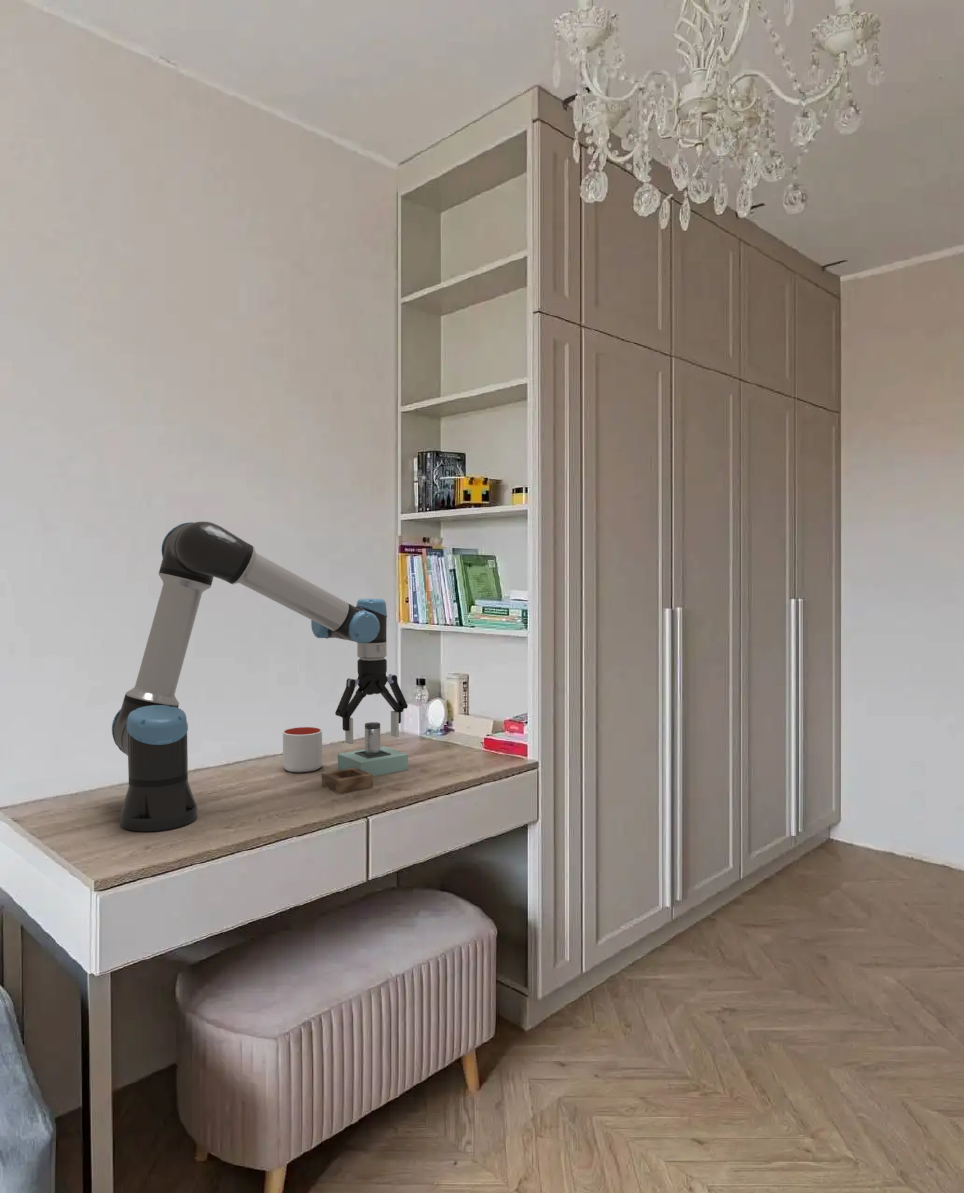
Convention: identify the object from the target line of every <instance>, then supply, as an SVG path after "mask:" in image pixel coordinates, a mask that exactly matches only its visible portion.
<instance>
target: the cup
mask: <svg viewBox="0 0 964 1193" xmlns="http://www.w3.org/2000/svg"><path fill="white" fill-rule="evenodd" d="M282 754H283V755H282V764H283V768H284V769H285V770H286V771H288V772H290V773H309V772H313V771H314V772H315V771H318V769H320V768H321V767H322V765H323V729H321V728H319V727H313V726H312V727H311V726H301V727H300V726H299V727H292V728H291V727H290V728H287V729H285V730H283V731H282Z"/></svg>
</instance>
